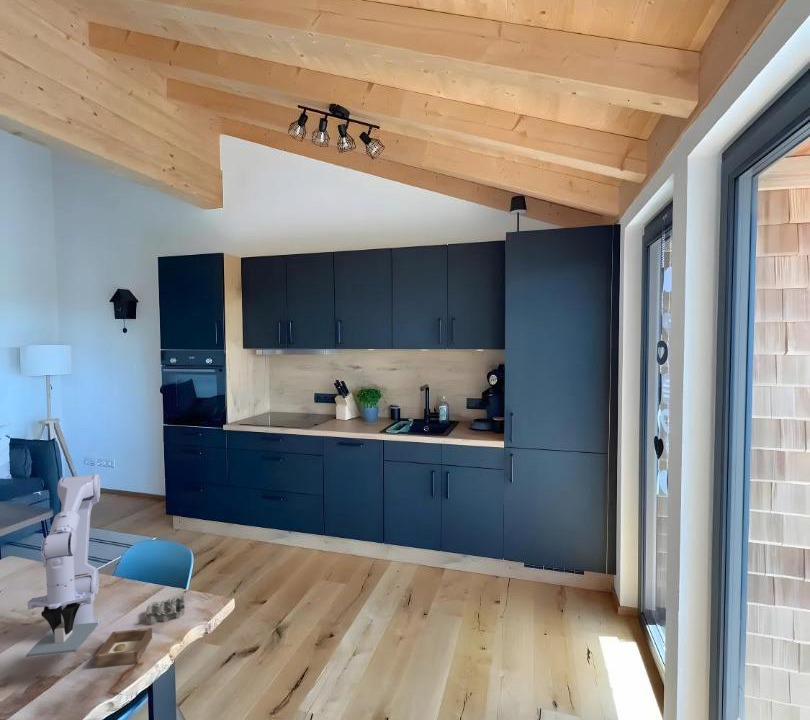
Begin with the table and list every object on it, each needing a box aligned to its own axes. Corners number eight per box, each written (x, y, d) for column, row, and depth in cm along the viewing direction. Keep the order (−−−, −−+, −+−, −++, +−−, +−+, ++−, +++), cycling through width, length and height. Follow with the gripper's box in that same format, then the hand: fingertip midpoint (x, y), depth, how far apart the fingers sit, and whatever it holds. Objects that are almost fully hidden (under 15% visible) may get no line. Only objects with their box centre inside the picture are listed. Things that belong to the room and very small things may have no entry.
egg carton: (144, 628, 135) (143, 614, 135) (147, 614, 142) (146, 601, 142) (184, 618, 139) (184, 605, 139) (185, 605, 146) (185, 592, 146)
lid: (26, 656, 112) (25, 640, 112) (52, 628, 123) (52, 614, 123) (76, 651, 114) (75, 635, 114) (98, 624, 125) (97, 610, 125)
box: (95, 667, 118) (94, 656, 118) (113, 642, 128) (112, 631, 128) (137, 663, 120) (137, 652, 120) (152, 638, 130) (151, 628, 130)
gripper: (18, 591, 113) (21, 645, 113) (83, 586, 115) (86, 639, 116) (36, 576, 120) (39, 627, 120) (98, 571, 122) (100, 622, 123)
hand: (63, 632), depth 119 cm, fingers closed on lid, 2 cm apart
